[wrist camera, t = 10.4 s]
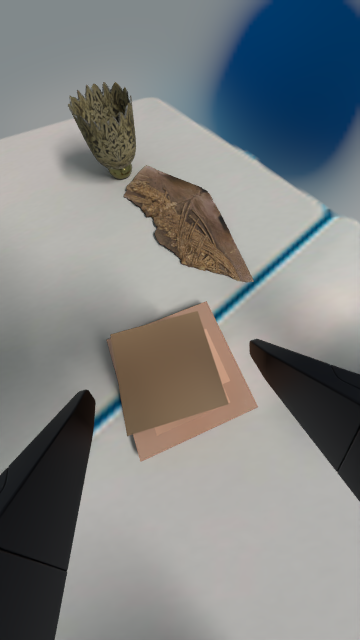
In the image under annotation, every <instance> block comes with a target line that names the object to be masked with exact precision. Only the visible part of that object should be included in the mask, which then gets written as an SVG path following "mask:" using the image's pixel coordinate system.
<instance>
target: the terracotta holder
mask: <svg viewBox="0 0 360 640" xmlns="http://www.w3.org/2000/svg"><path fill="white" fill-rule="evenodd" d="M195 311H198V313H199V316H200V319H201V322H202V325H203V328H204V331H205V334H206V337H207V340H208V343H209V346H210V349H211V352H212V355H213V358H214V361H215V364H216V367H217V370H218V373H219V376H220V379H221V382H222V385H223V388H224V391H225V394H226V397H227V400H228V403H229V404H228V405H224V406H221V407H218V408H215V409H212V410H209V411H205V412H202V413H199V414H196V415H193V416H190V417H186V418H183V419H180V420H177V421H174V422H171V423H167V424H164V425H161V426H158V427H155V428H152V429H148V430H145V431H142V432H139V433H136V434H133V436H134V440H135V444H136V447H137V451H138V454H139V458H140V461H143V460H146V459H148V458H150V457H152V456H154V455H156V454H158V453H161V452H163V451H165V450H167V449H169V448H171V447H173V446H176V445H178V444H180V443H182V442H184V441H186V440H188V439H191V438H193V437H195V436H197V435H199V434H201V433H203V432H206V431H208V430H210V429H212V428H214V427H216V426H218V425H221V424H223V423H225V422H227V421H229V420H231V419H233V418H236V417H238V416H240V415H242V414H244V413H246V412H249V411H251V410H253V409H255V408H257V407H258V406H257V404H256V402H255V400H254V398H253V396H252V394H251V392H250V390H249V387H248V385H247V383H246V381H245V379H244V377H243V375H242V373H241V371H240V369H239V367H238V365H237V363H236V361H235V359H234V357H233V355H232V353H231V351H230V349H229V346H228V344H227V342H226V340H225V338H224V336H223V334H222V332H221V330H220V328H219V326H218V324H217V322H216V320H215V318H214V316H213V314H212V312H211V310H210V308H209V306H208V303H207V301H206V302H203V303H201V304H198V305H196V306H193V307H190V308H188V309H185V310H183V311H180V312H177V313H175V314H172V315H170V316H167V317H164V318H162V319H159V320H157V321H154V322H151V323H155V322H158V321H162V320H166V319H169V318H173V317H177V316H180V315H184V314H188V313H191V312H195ZM151 323H149V324H151ZM146 325H147V324H146ZM107 343H108V347H109V350H110V354H111V358H112V361H113V365H114V368H115V372H116V366H115V360H114V354H113V348H112V342H111V338H110V339H107ZM116 376H117V372H116ZM117 379H118V378H117Z"/></svg>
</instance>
